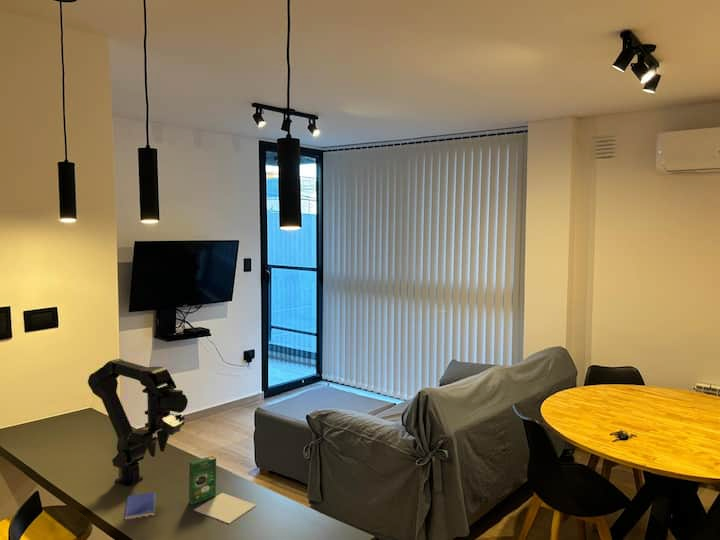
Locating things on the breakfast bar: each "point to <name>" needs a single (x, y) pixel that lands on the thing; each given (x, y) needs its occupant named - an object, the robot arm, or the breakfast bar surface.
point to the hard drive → (140, 505)
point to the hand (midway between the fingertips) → (157, 453)
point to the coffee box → (202, 480)
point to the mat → (225, 508)
